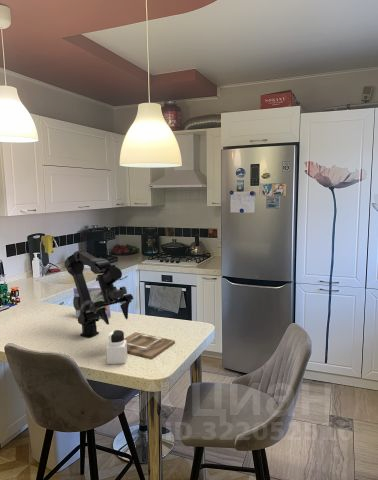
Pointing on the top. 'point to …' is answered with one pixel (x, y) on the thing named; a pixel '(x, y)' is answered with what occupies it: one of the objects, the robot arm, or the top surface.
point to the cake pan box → (95, 297)
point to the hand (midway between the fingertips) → (117, 321)
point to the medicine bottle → (116, 348)
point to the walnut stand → (147, 345)
